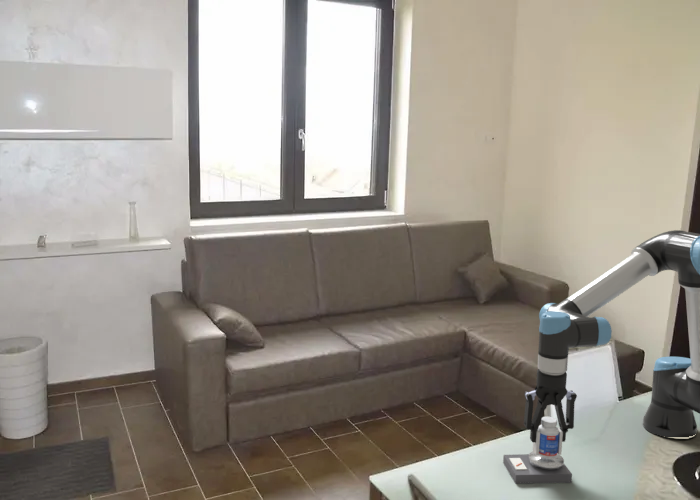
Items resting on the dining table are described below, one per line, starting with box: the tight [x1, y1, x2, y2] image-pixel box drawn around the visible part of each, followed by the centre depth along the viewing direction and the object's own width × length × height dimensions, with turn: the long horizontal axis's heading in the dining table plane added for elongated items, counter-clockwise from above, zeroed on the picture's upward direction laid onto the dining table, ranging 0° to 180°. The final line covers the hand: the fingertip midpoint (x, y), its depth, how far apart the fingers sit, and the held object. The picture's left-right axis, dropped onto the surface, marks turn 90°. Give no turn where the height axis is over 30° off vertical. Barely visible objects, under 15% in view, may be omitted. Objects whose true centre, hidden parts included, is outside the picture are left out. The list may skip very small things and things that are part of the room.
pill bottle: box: [538, 415, 559, 458], centre depth 170 cm, size 6×5×10 cm
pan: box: [529, 450, 565, 470], centre depth 171 cm, size 9×9×1 cm
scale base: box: [502, 453, 573, 484], centre depth 172 cm, size 15×11×3 cm
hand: (546, 452), depth 171 cm, fingers closed on pill bottle, 5 cm apart
